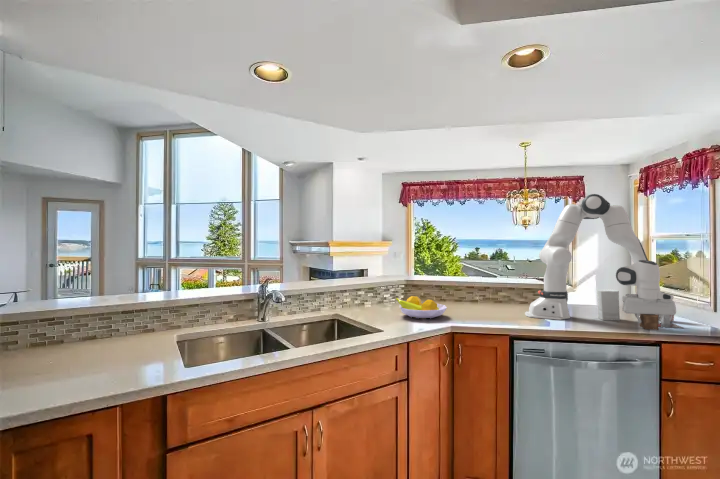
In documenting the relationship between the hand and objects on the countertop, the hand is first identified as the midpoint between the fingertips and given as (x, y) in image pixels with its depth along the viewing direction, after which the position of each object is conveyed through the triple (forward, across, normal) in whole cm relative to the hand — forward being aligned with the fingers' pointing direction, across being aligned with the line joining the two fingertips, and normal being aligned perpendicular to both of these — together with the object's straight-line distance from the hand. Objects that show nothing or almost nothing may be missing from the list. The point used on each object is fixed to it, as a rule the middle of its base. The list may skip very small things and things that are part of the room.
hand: (648, 323), depth 167 cm
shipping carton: (+2, 0, 0) cm, 2 cm away
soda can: (+2, +15, +20) cm, 25 cm away
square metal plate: (+2, +10, +8) cm, 13 cm away
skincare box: (+2, -11, +17) cm, 20 cm away
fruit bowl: (+2, -108, -1) cm, 108 cm away
